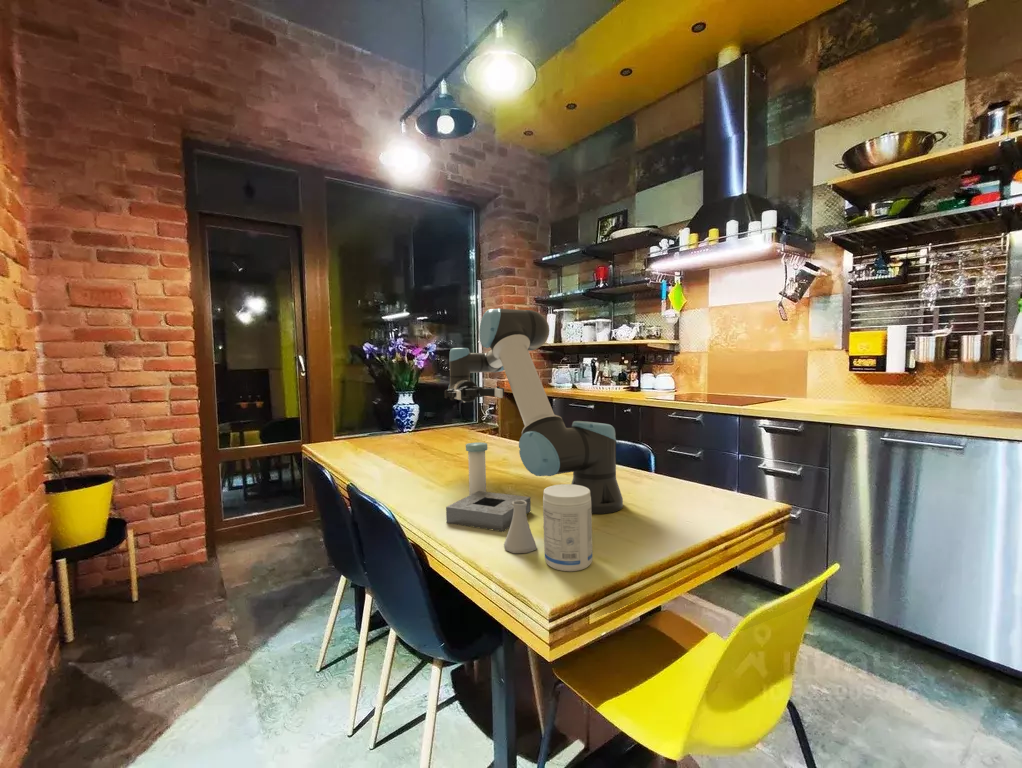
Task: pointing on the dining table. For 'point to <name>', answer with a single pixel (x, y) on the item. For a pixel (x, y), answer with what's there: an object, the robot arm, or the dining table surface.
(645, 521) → the dining table surface
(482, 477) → the teal-capped white peg
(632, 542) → the dining table surface
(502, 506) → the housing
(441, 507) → the dining table surface
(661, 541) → the dining table surface
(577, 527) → the supplement tub
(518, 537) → the flask
